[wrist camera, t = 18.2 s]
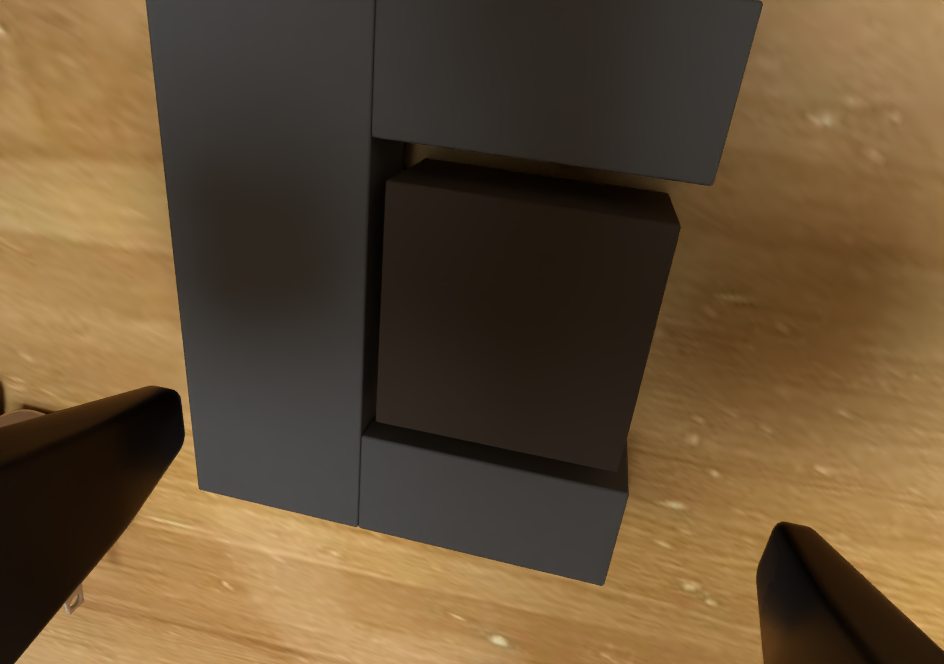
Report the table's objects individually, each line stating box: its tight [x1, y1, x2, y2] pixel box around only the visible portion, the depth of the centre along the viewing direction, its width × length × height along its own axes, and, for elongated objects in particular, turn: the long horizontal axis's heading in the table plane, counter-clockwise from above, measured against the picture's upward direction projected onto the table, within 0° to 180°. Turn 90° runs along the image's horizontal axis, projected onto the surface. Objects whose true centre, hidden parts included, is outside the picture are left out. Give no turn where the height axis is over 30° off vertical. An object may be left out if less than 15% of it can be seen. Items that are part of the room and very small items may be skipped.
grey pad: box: [146, 0, 763, 586], centre depth 16 cm, size 14×12×2 cm
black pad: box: [376, 159, 681, 472], centre depth 15 cm, size 6×6×3 cm
